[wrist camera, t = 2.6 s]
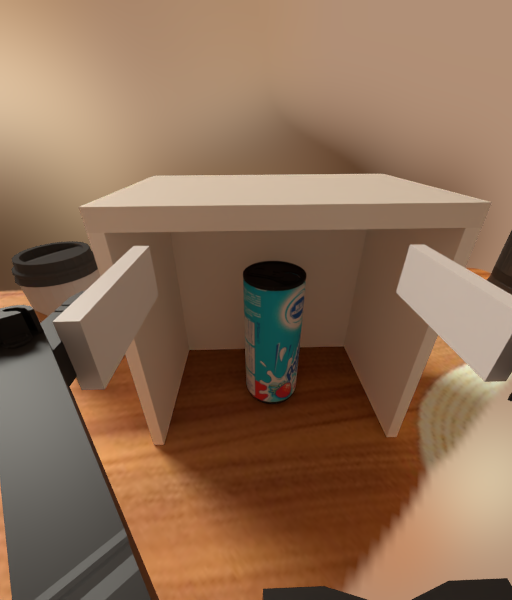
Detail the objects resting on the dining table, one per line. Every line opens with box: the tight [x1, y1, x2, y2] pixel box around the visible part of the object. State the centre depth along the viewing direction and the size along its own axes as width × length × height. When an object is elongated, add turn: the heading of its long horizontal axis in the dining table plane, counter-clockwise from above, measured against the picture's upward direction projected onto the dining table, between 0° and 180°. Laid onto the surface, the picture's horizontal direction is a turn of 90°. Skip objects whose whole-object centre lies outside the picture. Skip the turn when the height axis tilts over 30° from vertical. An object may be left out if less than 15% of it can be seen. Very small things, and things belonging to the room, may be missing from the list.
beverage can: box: [243, 261, 306, 404], centre depth 30 cm, size 6×6×15 cm
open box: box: [79, 174, 491, 445], centre depth 28 cm, size 24×15×22 cm, turn 92°
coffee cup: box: [12, 242, 101, 322], centre depth 35 cm, size 8×8×15 cm
